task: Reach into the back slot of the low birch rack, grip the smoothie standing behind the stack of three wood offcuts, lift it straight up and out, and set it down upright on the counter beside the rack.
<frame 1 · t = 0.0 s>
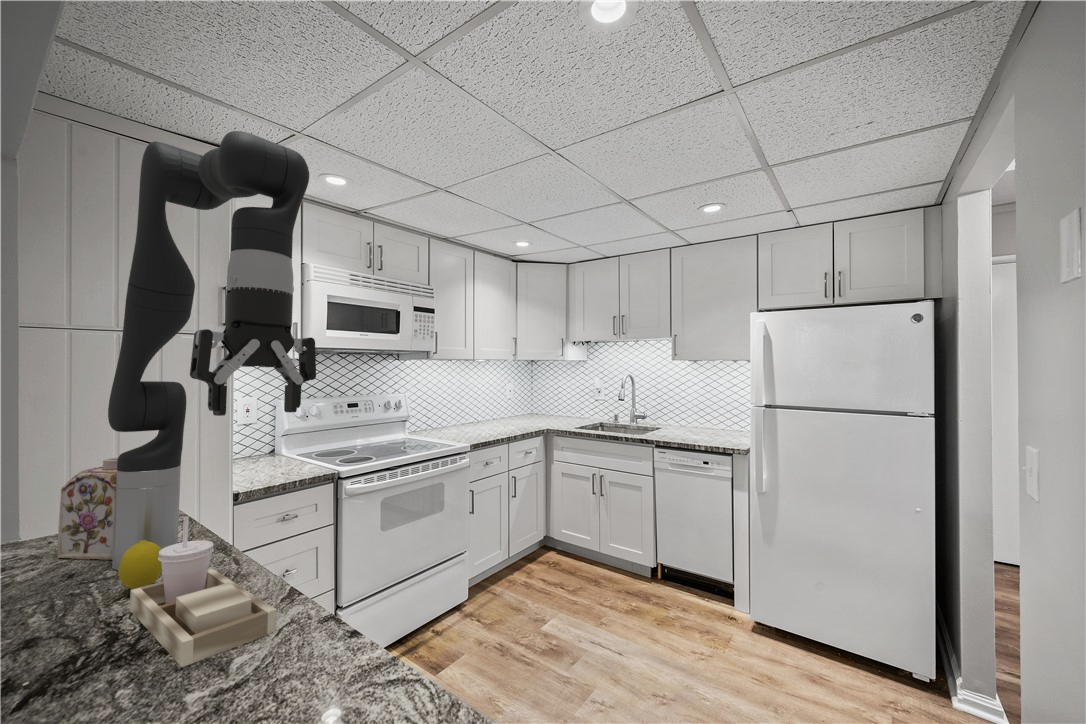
hand: (256, 413, 62), 29 cm above the countertop, tool pointing down, fingers open, 8 cm apart
offcut top: (213, 614, 62), point 3 cm above the countertop, touching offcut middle
smoothie: (184, 617, 68), on the countertop
decorative jar: (113, 550, 95), on the countertop
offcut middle: (214, 630, 62), point 1 cm above the countertop, touching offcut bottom, offcut top
lemon: (140, 592, 76), on the countertop
offcut rack: (199, 629, 64), on the countertop
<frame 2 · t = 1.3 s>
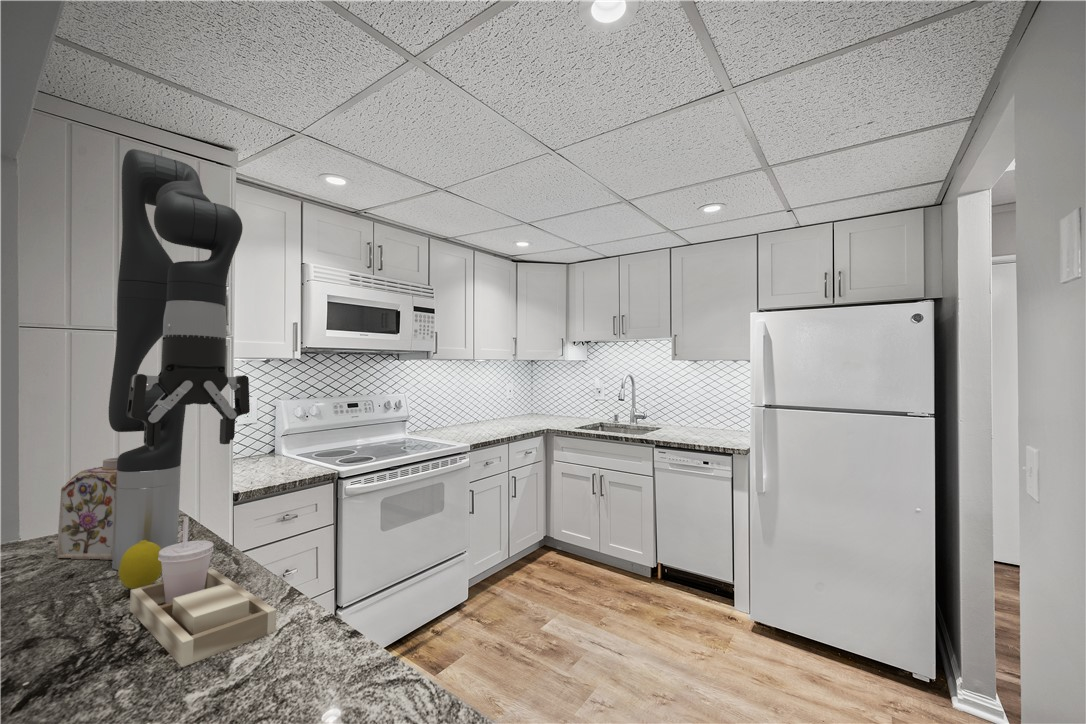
hand: (191, 446, 69), 24 cm above the countertop, tool pointing down, fingers open, 8 cm apart
offcut top: (210, 614, 62), point 3 cm above the countertop
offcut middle: (213, 631, 62), point 1 cm above the countertop
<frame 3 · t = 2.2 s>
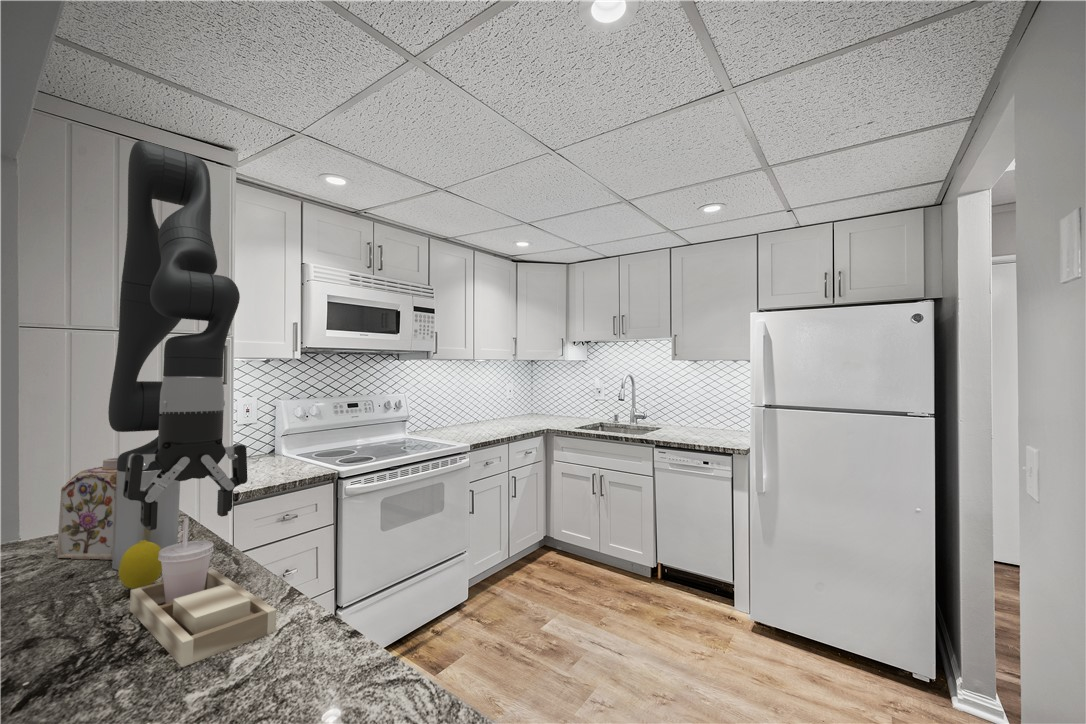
hand: (188, 521, 69), 13 cm above the countertop, tool pointing down, fingers open, 8 cm apart
offcut top: (211, 615, 62), point 3 cm above the countertop, touching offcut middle
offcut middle: (215, 630, 62), point 1 cm above the countertop, touching offcut top
everything else where it was.
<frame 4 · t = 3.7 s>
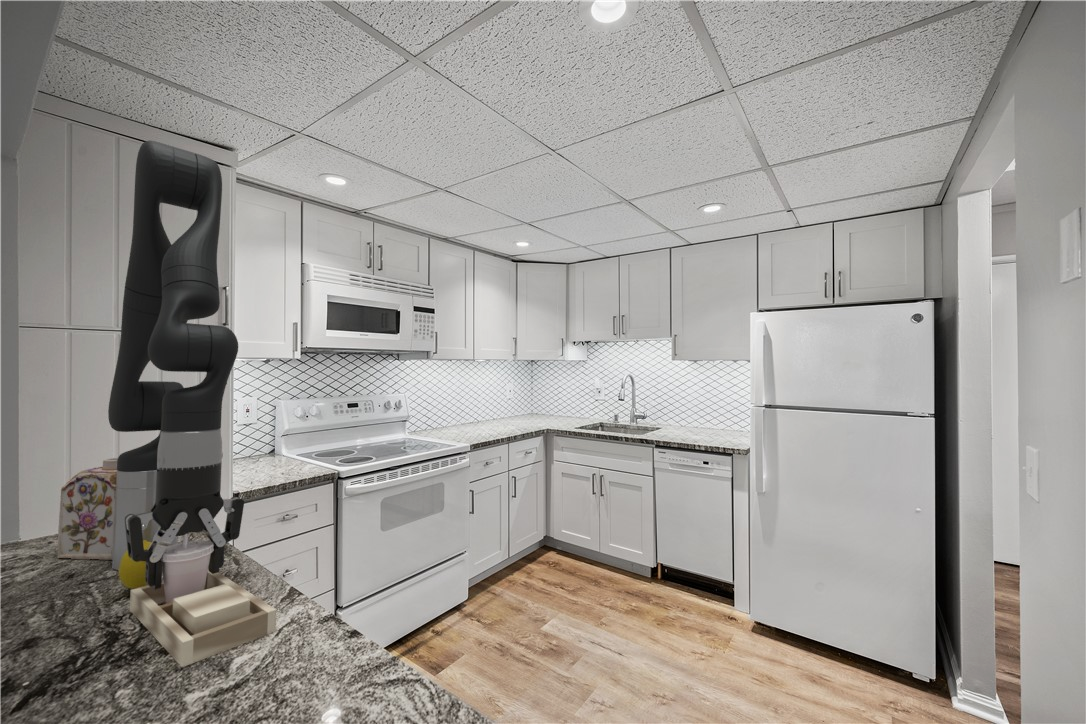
hand: (185, 579, 68), 5 cm above the countertop, tool pointing down, fingers closed on smoothie, 6 cm apart
smoothie: (184, 617, 68), on the countertop, touching gripper
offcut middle: (213, 630, 62), point 1 cm above the countertop, touching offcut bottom, offcut top
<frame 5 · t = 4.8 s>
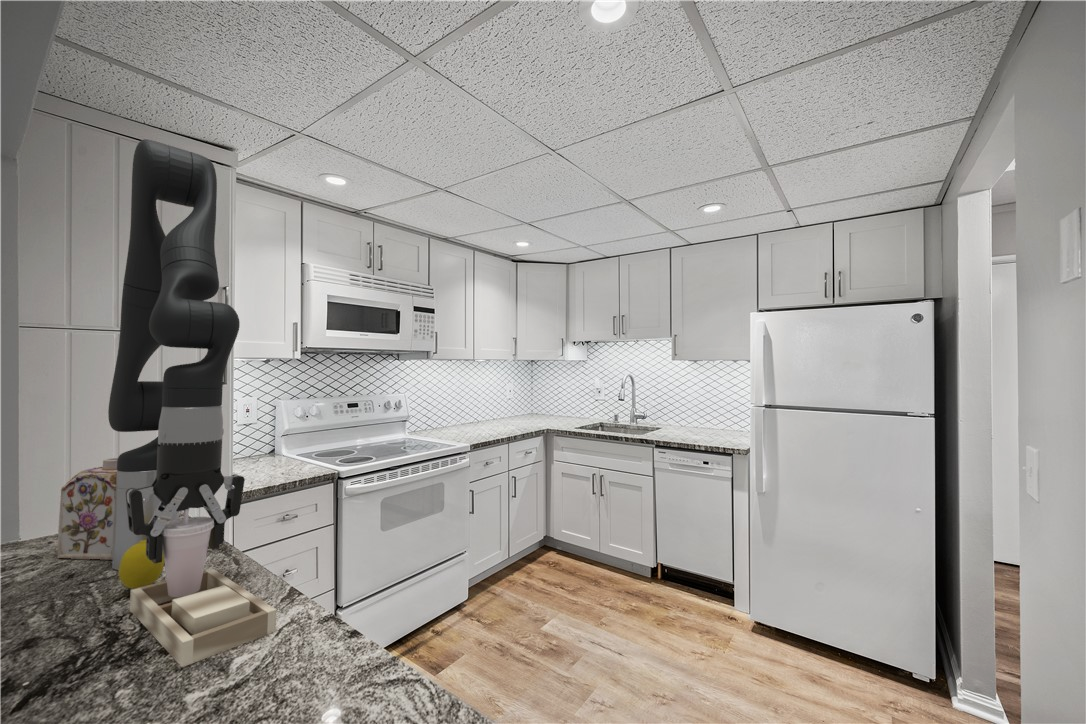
hand: (186, 554, 69), 9 cm above the countertop, tool pointing down, fingers closed on smoothie, 6 cm apart
offcut top: (210, 616, 61), point 3 cm above the countertop
smoothie: (184, 592, 68), point 3 cm above the countertop, touching gripper
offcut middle: (214, 630, 62), point 1 cm above the countertop, touching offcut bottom
everything else where it was.
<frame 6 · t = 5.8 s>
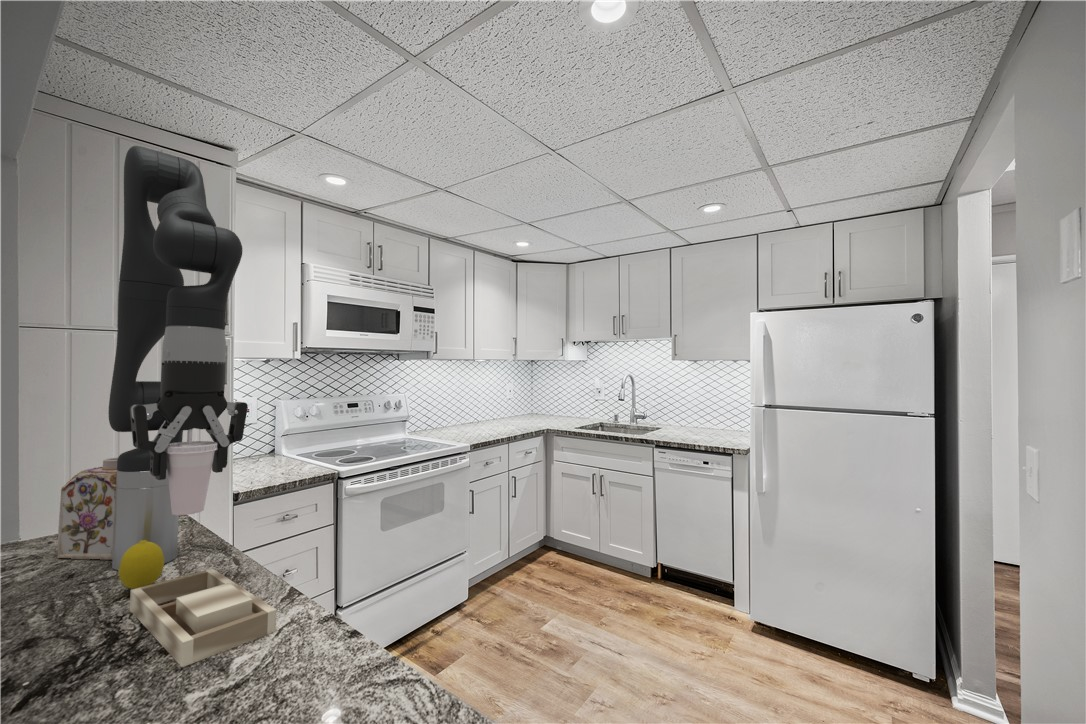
hand: (189, 474, 69), 20 cm above the countertop, tool pointing down, fingers closed on smoothie, 6 cm apart
offcut top: (213, 614, 62), point 3 cm above the countertop, touching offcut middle
smoothie: (188, 512, 69), point 14 cm above the countertop, touching gripper
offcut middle: (215, 629, 62), point 1 cm above the countertop, touching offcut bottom, offcut top
everything else where it was.
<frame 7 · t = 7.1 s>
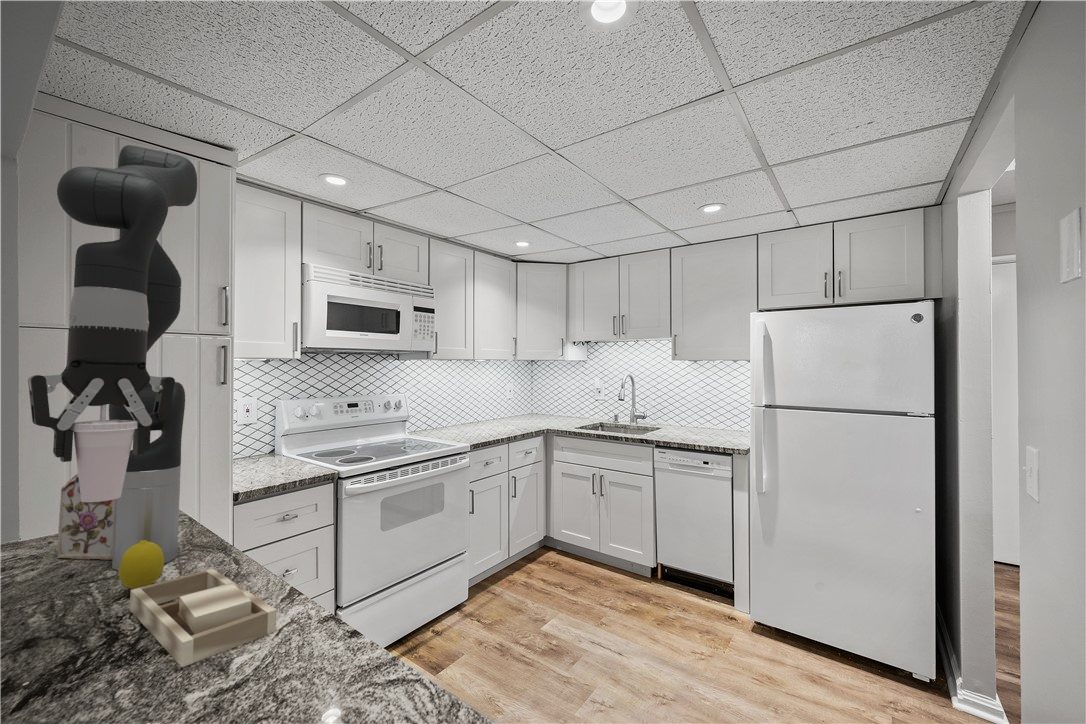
hand: (103, 457, 61), 24 cm above the countertop, tool pointing down, fingers closed on smoothie, 6 cm apart
smoothie: (101, 500, 61), point 18 cm above the countertop, touching gripper
everything else where it was.
when the fingers open (6 cm above the countertop, at t = 9.8 s): smoothie stays where it is, on the countertop.
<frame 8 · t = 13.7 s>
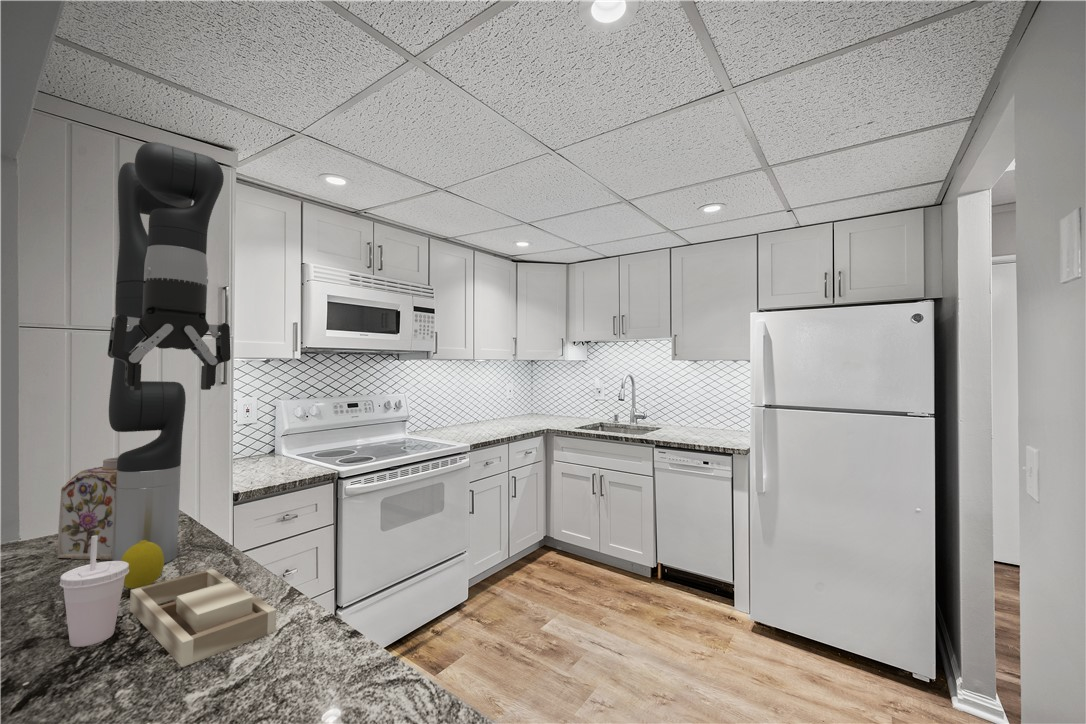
hand: (171, 389, 71), 32 cm above the countertop, tool pointing down, fingers open, 8 cm apart
offcut top: (214, 612, 62), point 3 cm above the countertop
smoothie: (91, 650, 60), on the countertop
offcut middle: (216, 628, 62), point 1 cm above the countertop, touching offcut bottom
everything else where it was.
at the end: smoothie inside the target area (0.2 cm from its centre), on the countertop; smoothie tilted 0°; offcut top moved 0.9 cm from its start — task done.
